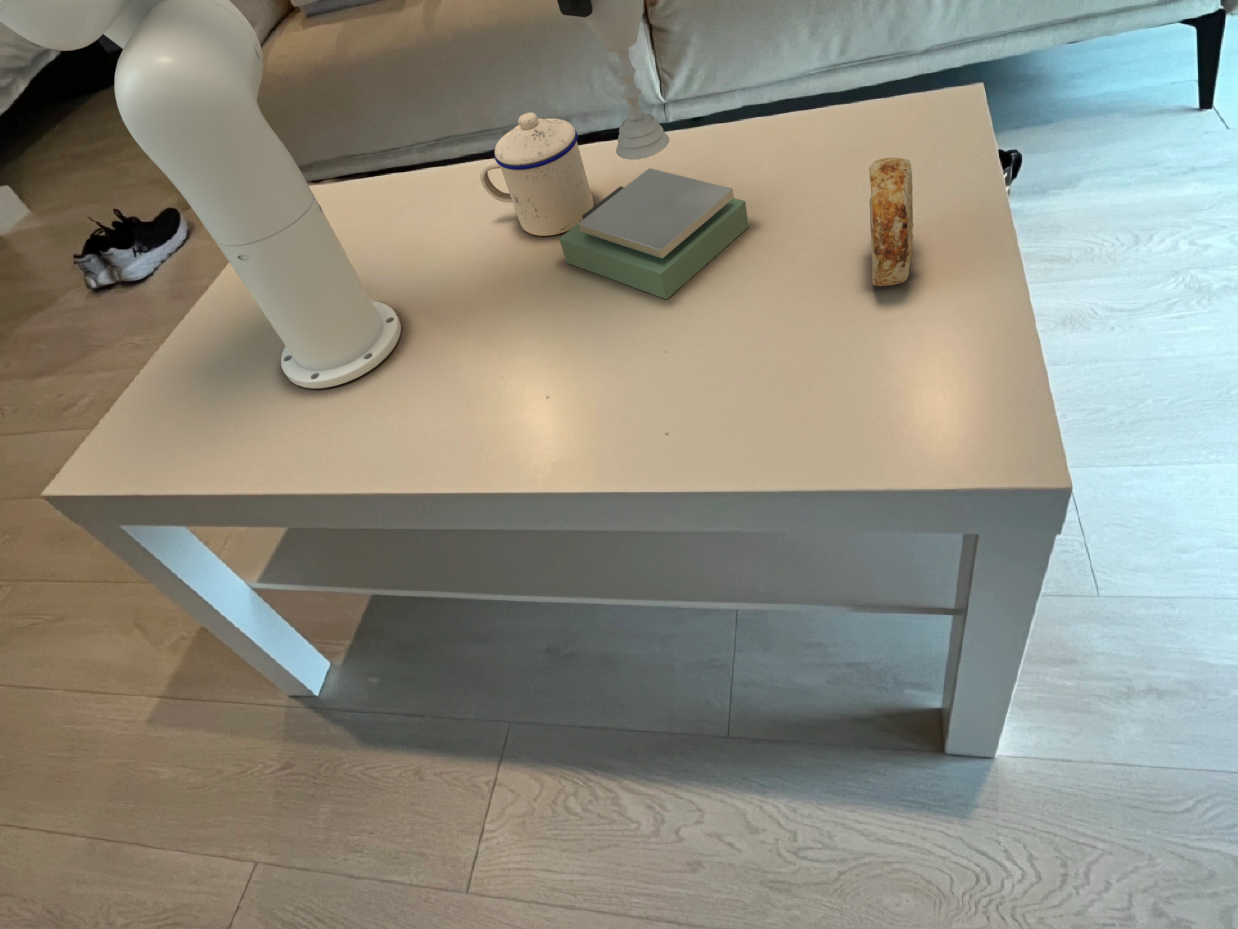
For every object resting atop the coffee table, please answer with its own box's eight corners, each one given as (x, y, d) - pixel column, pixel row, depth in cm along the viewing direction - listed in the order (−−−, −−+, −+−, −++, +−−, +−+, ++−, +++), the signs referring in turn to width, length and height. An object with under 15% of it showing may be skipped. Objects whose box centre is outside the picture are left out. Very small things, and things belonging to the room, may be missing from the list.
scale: (566, 262, 86) (557, 233, 83) (646, 198, 91) (640, 168, 88) (666, 299, 78) (659, 268, 75) (748, 227, 83) (745, 195, 80)
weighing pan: (580, 231, 82) (577, 223, 81) (651, 176, 86) (649, 167, 85) (662, 259, 75) (660, 250, 75) (734, 197, 80) (733, 188, 79)
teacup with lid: (603, 189, 94) (577, 89, 86) (587, 234, 88) (557, 132, 80) (507, 199, 97) (474, 104, 89) (486, 244, 92) (447, 146, 83)
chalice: (672, 161, 72) (629, -68, 59) (599, 169, 74) (542, -51, 61) (684, 121, 77) (646, -101, 64) (615, 129, 79) (565, -84, 66)
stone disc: (912, 306, 69) (917, 201, 62) (866, 307, 70) (866, 205, 63) (911, 235, 76) (916, 133, 69) (869, 237, 77) (870, 137, 70)
